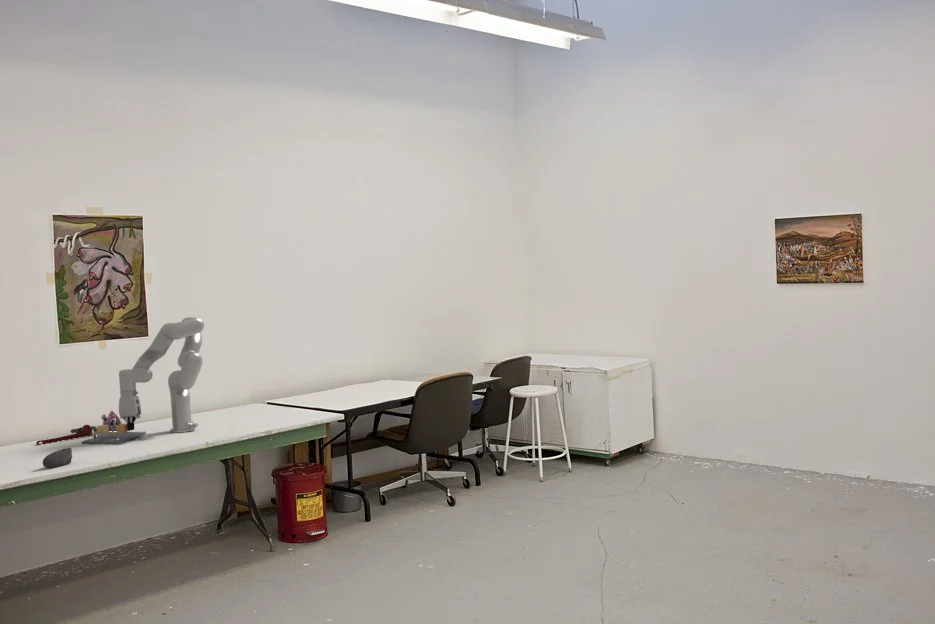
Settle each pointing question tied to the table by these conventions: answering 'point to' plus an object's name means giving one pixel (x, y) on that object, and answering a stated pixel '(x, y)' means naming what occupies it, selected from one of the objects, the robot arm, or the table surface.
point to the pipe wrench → (80, 432)
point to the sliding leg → (120, 429)
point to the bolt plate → (107, 436)
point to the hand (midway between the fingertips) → (131, 430)
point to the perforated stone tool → (58, 458)
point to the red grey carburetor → (111, 421)
